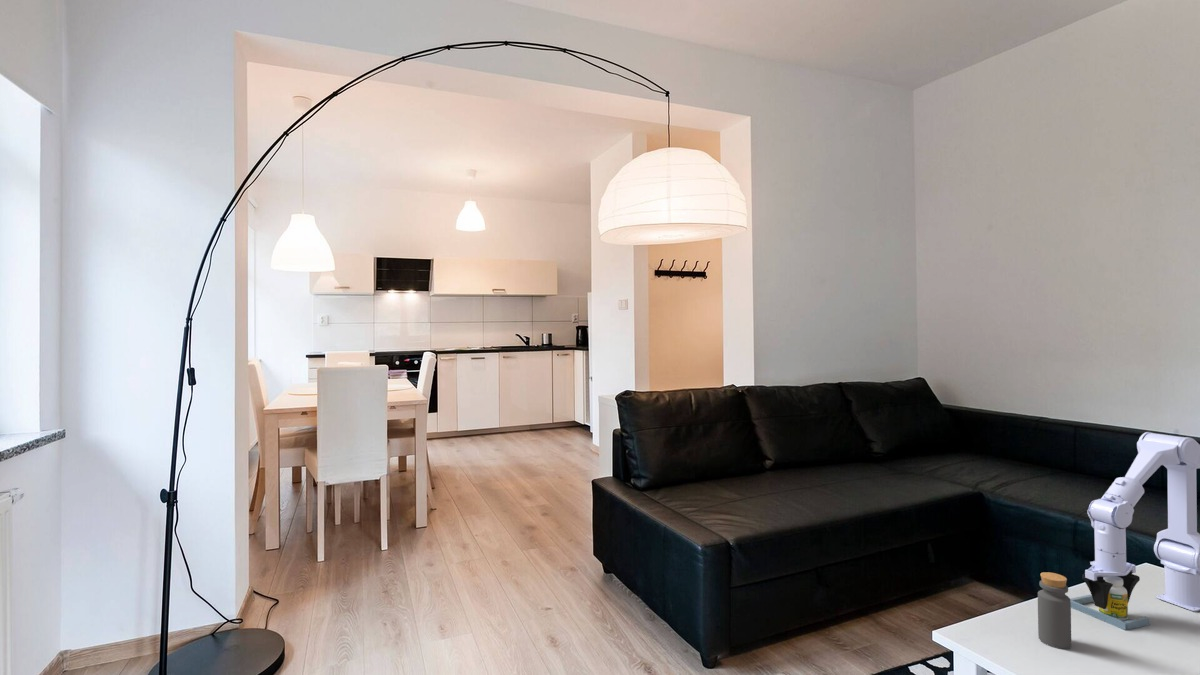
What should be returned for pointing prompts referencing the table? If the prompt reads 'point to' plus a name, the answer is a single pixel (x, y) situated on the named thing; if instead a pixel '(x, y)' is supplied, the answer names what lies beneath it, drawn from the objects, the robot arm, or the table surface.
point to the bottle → (1054, 611)
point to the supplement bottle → (1116, 599)
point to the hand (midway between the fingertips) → (1111, 604)
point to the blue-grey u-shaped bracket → (1125, 625)
